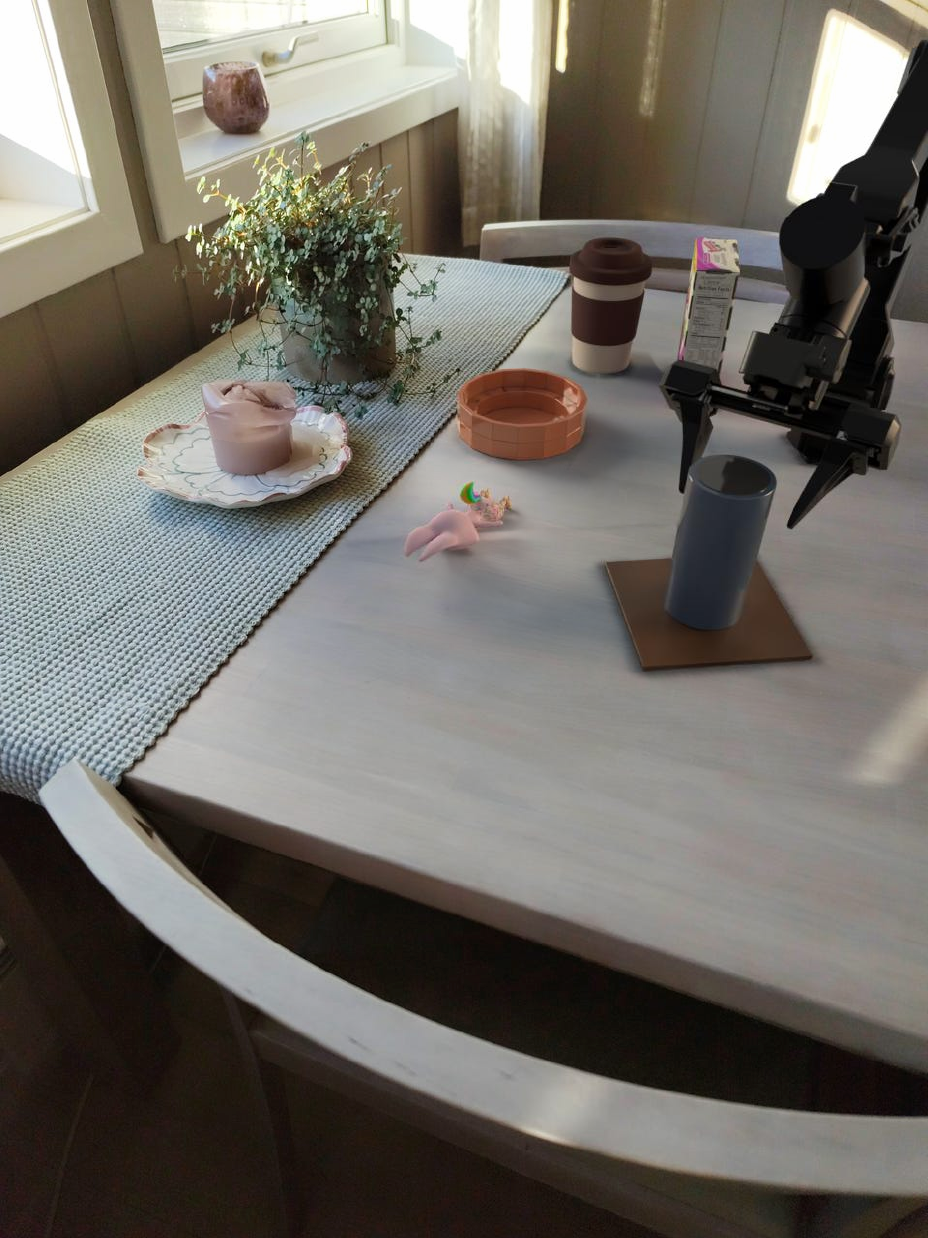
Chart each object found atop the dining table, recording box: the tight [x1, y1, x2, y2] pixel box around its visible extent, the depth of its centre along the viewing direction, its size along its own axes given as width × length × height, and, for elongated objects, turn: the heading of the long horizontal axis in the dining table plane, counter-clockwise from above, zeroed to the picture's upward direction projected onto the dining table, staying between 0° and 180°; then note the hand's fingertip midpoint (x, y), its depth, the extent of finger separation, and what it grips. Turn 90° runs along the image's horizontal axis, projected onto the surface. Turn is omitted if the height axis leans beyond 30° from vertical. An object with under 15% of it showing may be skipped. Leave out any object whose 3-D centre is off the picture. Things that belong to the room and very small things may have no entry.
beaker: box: [664, 454, 778, 630], centre depth 70 cm, size 7×7×13 cm
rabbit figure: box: [404, 481, 512, 563], centre depth 81 cm, size 6×6×15 cm
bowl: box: [456, 367, 588, 461], centre depth 98 cm, size 14×14×4 cm
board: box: [604, 557, 814, 672], centre depth 75 cm, size 14×14×1 cm
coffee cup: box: [568, 236, 654, 375], centre depth 108 cm, size 10×10×15 cm
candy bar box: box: [676, 236, 741, 377], centre depth 102 cm, size 11×5×16 cm, turn 168°
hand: (733, 509), depth 71 cm, fingers open, 9 cm apart
